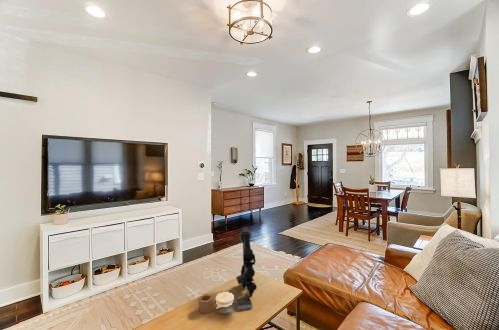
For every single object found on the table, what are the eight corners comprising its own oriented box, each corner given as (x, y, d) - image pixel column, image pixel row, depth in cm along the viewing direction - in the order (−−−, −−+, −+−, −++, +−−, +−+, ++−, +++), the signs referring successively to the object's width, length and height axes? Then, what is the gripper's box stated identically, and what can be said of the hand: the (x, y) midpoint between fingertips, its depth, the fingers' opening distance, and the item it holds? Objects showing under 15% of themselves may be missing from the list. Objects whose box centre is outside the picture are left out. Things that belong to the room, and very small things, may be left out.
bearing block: (235, 302, 151) (235, 298, 151) (248, 300, 154) (248, 296, 154) (238, 310, 142) (237, 306, 142) (252, 308, 145) (252, 304, 145)
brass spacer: (244, 294, 161) (244, 285, 161) (251, 293, 162) (251, 284, 162) (246, 298, 156) (246, 289, 156) (252, 297, 157) (252, 288, 158)
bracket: (201, 314, 139) (201, 303, 139) (197, 307, 146) (197, 296, 146) (228, 306, 147) (228, 295, 147) (223, 299, 155) (223, 289, 155)
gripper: (234, 266, 166) (234, 288, 166) (240, 278, 148) (240, 303, 148) (249, 265, 169) (249, 286, 169) (256, 276, 151) (256, 300, 151)
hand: (248, 293), depth 159 cm, fingers open, 9 cm apart
